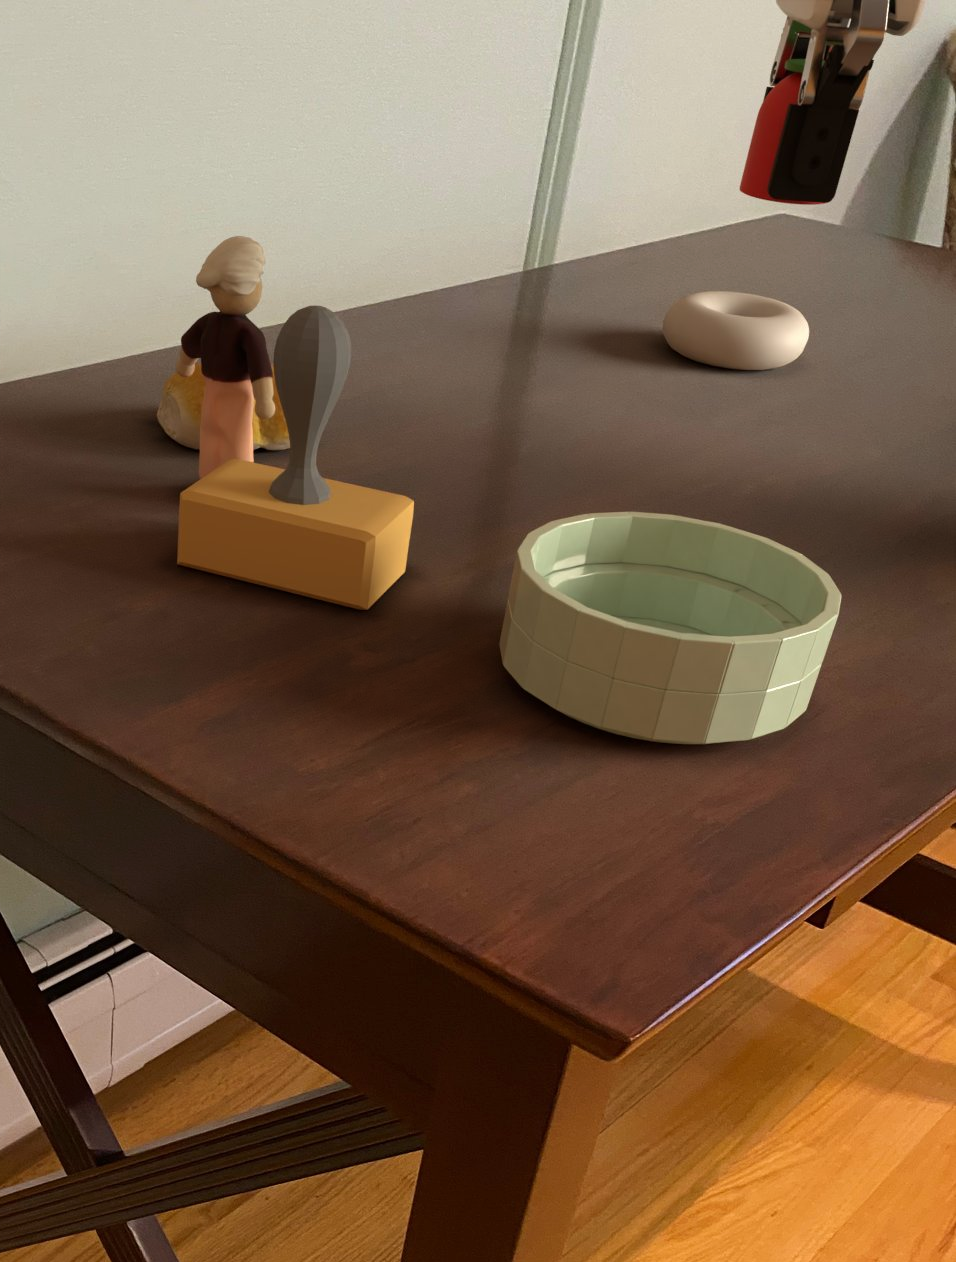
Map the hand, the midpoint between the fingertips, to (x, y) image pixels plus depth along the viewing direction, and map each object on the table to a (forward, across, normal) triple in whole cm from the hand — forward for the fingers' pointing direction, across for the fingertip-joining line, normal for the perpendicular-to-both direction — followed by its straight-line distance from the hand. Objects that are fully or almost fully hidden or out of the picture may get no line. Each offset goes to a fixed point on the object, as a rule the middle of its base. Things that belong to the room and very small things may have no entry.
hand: (788, 184), depth 76 cm
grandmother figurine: (+16, -8, +27) cm, 33 cm away
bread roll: (+16, +2, +28) cm, 32 cm away
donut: (+16, +27, -6) cm, 32 cm away
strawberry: (0, 0, 0) cm, 0 cm away
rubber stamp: (+15, -17, +23) cm, 33 cm away
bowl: (+15, -26, +7) cm, 31 cm away
